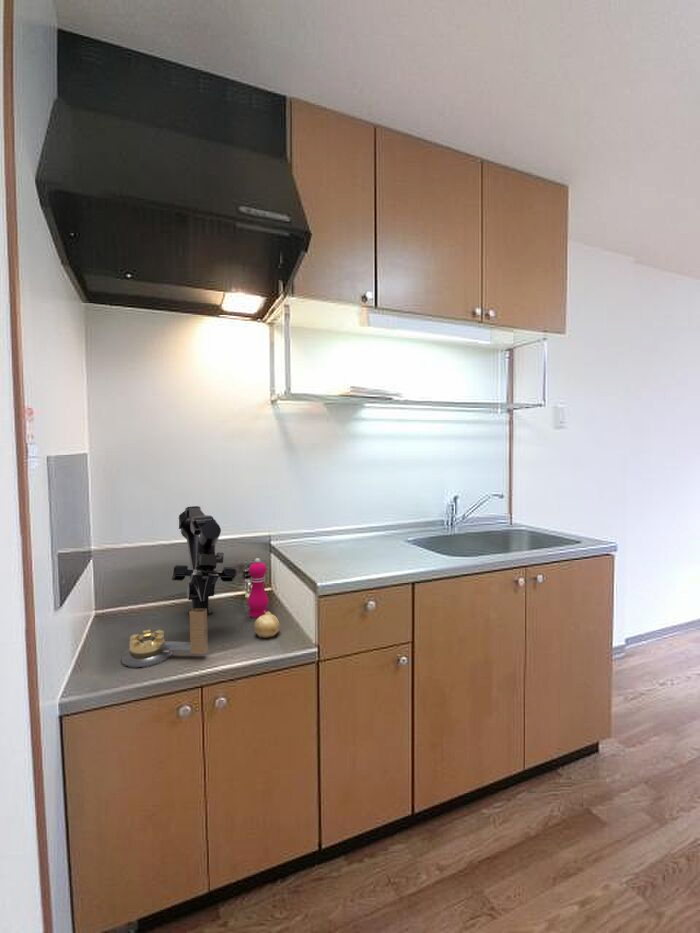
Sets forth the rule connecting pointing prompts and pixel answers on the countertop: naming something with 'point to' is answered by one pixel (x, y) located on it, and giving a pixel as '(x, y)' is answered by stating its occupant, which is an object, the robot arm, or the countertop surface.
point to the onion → (266, 625)
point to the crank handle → (156, 642)
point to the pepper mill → (257, 590)
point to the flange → (144, 659)
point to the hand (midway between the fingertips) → (203, 601)
